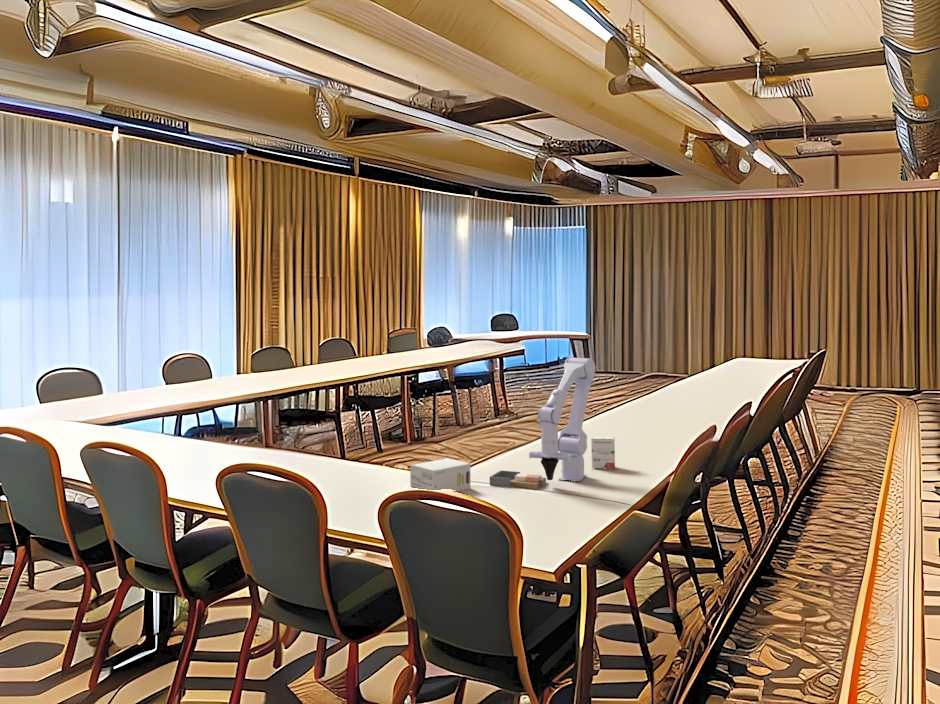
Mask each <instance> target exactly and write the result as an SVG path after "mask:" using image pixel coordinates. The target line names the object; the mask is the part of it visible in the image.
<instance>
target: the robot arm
mask: <svg viewBox="0 0 940 704" xmlns="http://www.w3.org/2000/svg"><path fill="white" fill-rule="evenodd" d="M563 371H564V373H563V375H562V378H561V380H560V382H559V384H558V387H557V388H556V389H552V392H551V394H550V395H549V398H548V399H547V402H546V403H545V405H544V406H542V407H540V409H539V410H538V413H537V420H538V422H539V427H540V429H541V431H540V432H541V437H540V438H541V451H530V452H528V454H529V459H540V463H541V464H540V465H542V467H543V469H544V471H545V475H546V481H552V480H553V479H554V474H555V471H556V468H557V465H558V463H559V461H561V476H560V477H558V479H557V480H558V481H564V480H569V481H568V482H576V481H580V480H581V481H582V480H584V479H585V478H586V477H587V474H585V458H584V456H583V455H584V454H585V453H586V451H587V449H588V435H587V434H586V432H585V431H584V430H583V424H584V419H585V414H586V409H587V403H588V399H589V394H590V389H591V384H592V383H593V382H594V377H595V374H596V365H595V361H594V359H593V358H592V357H588V358H586V357H572V356H568V357H567V358H566V359H565V360H564V364H563ZM573 384H575V387H574V392H573V397H572V402H571V407H570V413H569V417H568V423H567V426H566V427H565V428H563V429H562V430H560V433H559V423H560V422H561V419H562V414H563V408H564V406H565V404H566V402H567V400H568V394H567V393H568V392H569V391H570V389H571V387H572V386H573ZM584 477H585V478H584ZM583 478H584V479H583ZM570 480H571V481H570ZM581 481H580V482H581Z"/></svg>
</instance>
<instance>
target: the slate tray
mask: <svg viewBox="0 0 940 704" xmlns="http://www.w3.org/2000/svg"><path fill="white" fill-rule="evenodd" d="M517 474H521V471H511V470H499V471H498V472H497V471H496V473H493V474H491V475H490V476H489V485H490V486H495V487H505V488H506V487H507V488H511V487H510V481H512V480H513V479H515V476H516V475H517Z"/></svg>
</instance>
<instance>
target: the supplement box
mask: <svg viewBox="0 0 940 704" xmlns="http://www.w3.org/2000/svg"><path fill="white" fill-rule="evenodd" d="M409 468H410V469H409V470H410V472H409V475H410V476H409V477H410V479H409V480H410V482H409V483H410V487H412V488H418V489H427V490H441V489H452V490H456V491H458V492H462V491H466V489H467V490H470V488H471V463H470V462H467V461H462V460H457V459H453V458H448V457H446V458H441V459H435V460H430V461H426V462H421V463H419V462H418V463H414V464H410V467H409ZM410 487H409V488H410Z"/></svg>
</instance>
